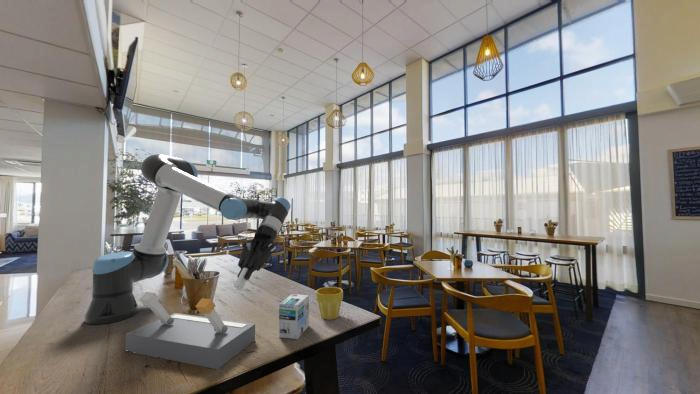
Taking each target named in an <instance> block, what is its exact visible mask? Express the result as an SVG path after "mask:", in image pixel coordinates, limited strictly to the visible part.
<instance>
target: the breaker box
mask: <svg viewBox="0 0 700 394" xmlns="http://www.w3.org/2000/svg"><path fill="white" fill-rule="evenodd" d="M169 315H170V316H171V318H173V319H174V322H173V323H172V324H164V323H161V320H160V319H159V318H158V319H157V320H155V321H152V322H150V323H148V324H145V325H143V326H140V327H138V328H136V329H133V330H131V331H128V332H126V333H125V350H128V351H132V352H135V353H134V354H137V353H138V354H139V355H141V356H142V355H144V356H148V357H153V356H156V357H155V358H158V357H160V358H159V359H163V358H164V359H163V360H168V361H174V362H180V363H184V364H188V365H195V366H199V367H203V368H207V369H209V368H210V369H214V370H218V369H221V367H222V366H224V365H225V364H226V363H228V362H229V361H230V360H231V359H233V358H234V357H235V356H236V355H238V354H239V353H241V352H242V351H243V350H245V348H247V347H249V345H251V344H252V343H254V342H255V341H256V323H252V322H251V323H250V322H245V321H244V322H243V321H236V320H230V319H223V318H221V320H222V321H223V323H224V324H225V326H227V327H228V329H227V331H226V332H225V333H223V332H216V331H214V327H213V326H212V324H211V323H210V322H209V320H208V319H207V317H206V316H200V315H192V314H186V313H185V314H184V313H178V312H173V313H172V314H169ZM132 352H131V353H132Z"/></svg>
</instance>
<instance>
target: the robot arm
mask: <svg viewBox="0 0 700 394" xmlns="http://www.w3.org/2000/svg"><path fill="white" fill-rule="evenodd" d="M140 171H141V174H142V176H143V177H144V178H145V179H146V180H147V181H148V182H150V183H152V184H153V185H154V186H155V187H156V188H157V192H156V195H155V198H154V201H153V203H152V204H153V205H152V207H151V210H150V213H149V215H148V219H147V221H146V225H145V228H144V231H143V232H142V233H143V234H142V237H141V240H140V242H139V243H137V244H135V245H134V246H133V250H132V251H117V252H112V253H107V254H104V255H100V256H99V257H97V258H96V259H95V260H94V262H93V268H92V295H91V301H90V304H89V306H88V307H87V311H86V313H85V315H84V323H85V322H86V323H85V324H86V325H87V324H88V325H105V324H111V323H116V322H119V321H123V320H126V319H129V318H131V317H133V316H135V315H136V314H138V311H139V310H138V309H139V307H138V303H137V300H136V298H135V295H134V293H133V292H134V291H133V289H134V283H137V282H141V281H144V280H147V279H151V278H154V277H157V276H159V275H161V274H162V273H164V272H165V271H166V269H167V267H168V265H169V261H170V260H169V259H170V258H169V255H168V253H167V249H166V247H165V244H166V241H167V239H168V234H169V232H170V229H171V226H172V223H173V220H174V218H175V214H176V211H177V208H178V205H179V202H180V200H181V196H182V195H184V196H186V197H187V198H190V199H192V200H195V201H197V202H198V203H201V204H203V205H205V206H207V207H209V208H211V209H213V210H215V211H217V212H219V213H221V216H223V217H224V218H225V219H227V220H232V221H237V220H244V219H246V220H247V219H259V220H261V222H260V223H259V226H258V227H257V229H256V231H255V233H254V237H253V238H252V239H251V240H250V242H248V243H246V242H244V243H242V251H241V254H240V256H239V259H238V263H237V266H238V267H239V268H240V270H239V272H238V274H237V278H236V281H235V283H234V284H233V287H234V288H235V289H236V290H237V291H242V290H243V289H244V287H245V284H246V283H247V281H248V280H250V278H251V277H252V274H253V273H254V272H255V271H256V272H259V271H260V270H261V269H262V267H263V266H264V265H265V264H266V262H268V260H269V259H270V257H271V256H272V254H273V253H275V252H276V251H277V248H276V246H275V244H274V242H275V241H276V238H277V236H278V235H279V232H280V231H281V228H282V226H283V224H284V222H285V220H286V218H287V216H288V214H289V212H290V209H291V204H290V202H289V200H288V199H286V198H285V197H281V196H279V197H275V198H274V199H273V201H267V200H266V201H265V200H260V199H255V198H251V197H250V198H249V197H243V198H241V197H238V196H236V195H234V194H232V193H230V192H228V191H225V190H224V189H221V188H219V187H217V186H215V185H213V184H212V183H208V182H206V181H204V180H202V179H200V178H198V175H199V174H198V169H197V168H196V166H195V164H194V163H193V162H191V161H189V160H186V159H183V158H181V157H176V156H175V157H174V156H171V155H166V154H159V153H157V154H152V155H149V156H147V157H146V158H145V159H144V160H143V161H142V163H141V165H140Z"/></svg>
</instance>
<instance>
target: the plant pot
mask: <svg viewBox="0 0 700 394" xmlns="http://www.w3.org/2000/svg"><path fill="white" fill-rule="evenodd" d="M343 299H344V290H343V289H342V288H341V287H336V286H326V287H320V288H318V289H316V290H315V301H316V302H317V303H318V309H319V313H320V316H321V317H320V318H321V319H323V320H335V319H337V318H338V317H339V316H340V309H341V305H342V304H341V303H342V301H343Z"/></svg>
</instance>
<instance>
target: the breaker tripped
mask: <svg viewBox="0 0 700 394" xmlns="http://www.w3.org/2000/svg"><path fill="white" fill-rule="evenodd" d="M195 308H196V310H197V311H198V312H199V313H200V314H204V317H207V319H208V320H209V322H210V323H211V324H212V326H213V327H214V331H216V332H223V333H225V332H226V331H227V329H228V327H227V326H225V324H224V323H223V321H222V320H221V319H222V318H221V317H220V315H219V314H218V312H217V311H216V309H215V308H216V304H215V302H214V301H213V299H211V298H203V297H202V298H200V300H199V301H198V302H197V304H196V305H195Z"/></svg>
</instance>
